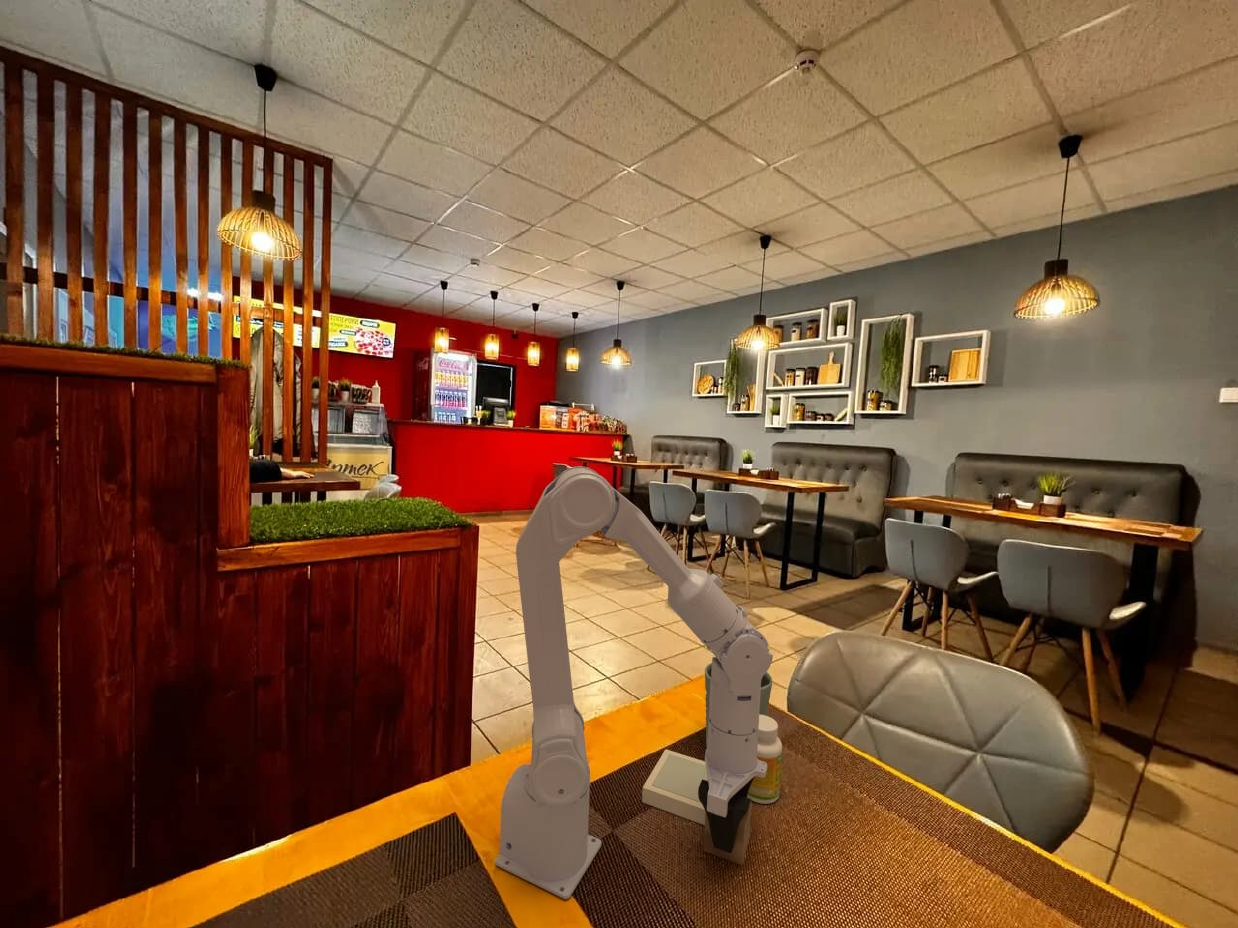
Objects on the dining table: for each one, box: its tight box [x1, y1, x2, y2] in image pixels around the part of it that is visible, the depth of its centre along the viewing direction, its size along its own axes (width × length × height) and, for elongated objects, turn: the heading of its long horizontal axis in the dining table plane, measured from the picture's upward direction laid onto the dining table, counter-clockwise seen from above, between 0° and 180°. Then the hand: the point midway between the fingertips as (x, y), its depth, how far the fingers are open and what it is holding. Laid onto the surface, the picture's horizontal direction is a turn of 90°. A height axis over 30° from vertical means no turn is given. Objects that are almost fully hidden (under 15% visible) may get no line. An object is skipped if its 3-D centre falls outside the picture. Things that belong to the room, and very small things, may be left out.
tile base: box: [641, 749, 708, 826], centre depth 67 cm, size 9×9×2 cm
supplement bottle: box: [747, 714, 783, 804], centre depth 67 cm, size 5×5×10 cm
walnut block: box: [703, 800, 753, 866], centre depth 58 cm, size 4×4×4 cm
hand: (727, 832), depth 58 cm, fingers closed on walnut block, 4 cm apart
